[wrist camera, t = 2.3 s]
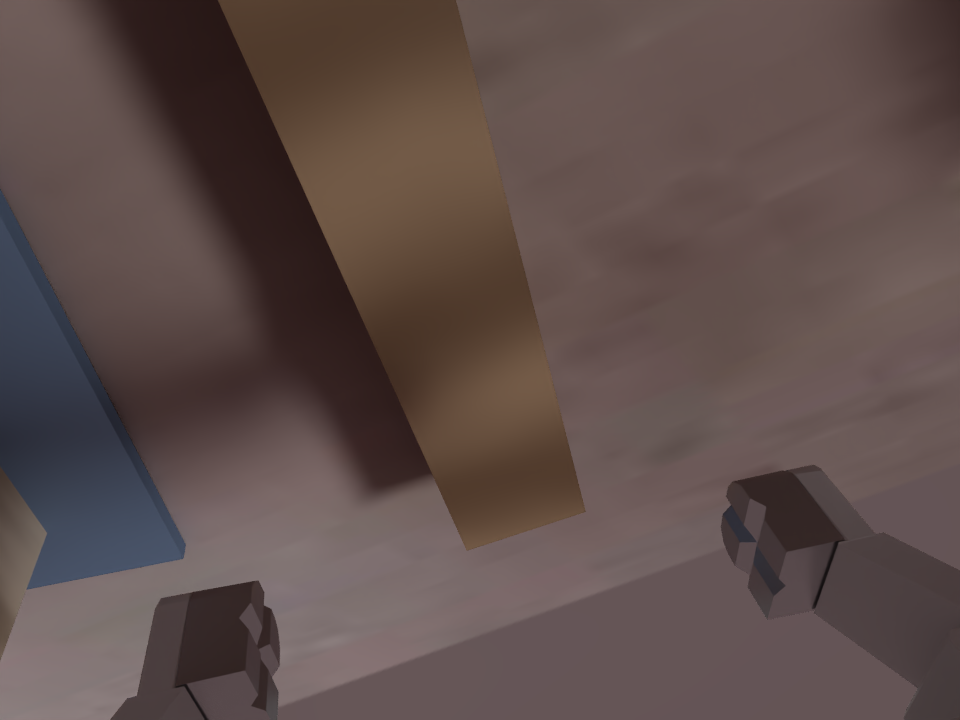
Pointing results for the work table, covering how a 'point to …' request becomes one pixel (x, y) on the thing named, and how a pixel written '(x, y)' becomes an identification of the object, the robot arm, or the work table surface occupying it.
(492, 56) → the work table surface
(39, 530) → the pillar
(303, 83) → the beam
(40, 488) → the board
